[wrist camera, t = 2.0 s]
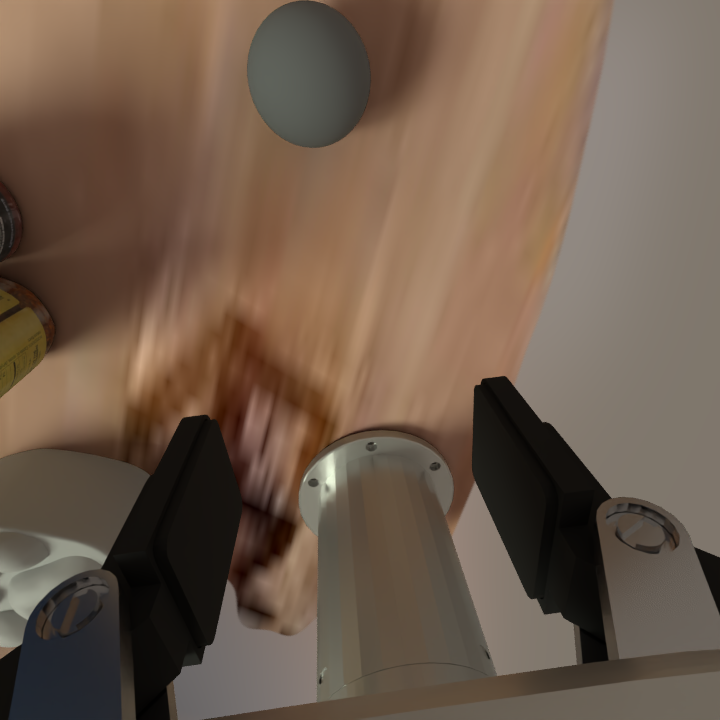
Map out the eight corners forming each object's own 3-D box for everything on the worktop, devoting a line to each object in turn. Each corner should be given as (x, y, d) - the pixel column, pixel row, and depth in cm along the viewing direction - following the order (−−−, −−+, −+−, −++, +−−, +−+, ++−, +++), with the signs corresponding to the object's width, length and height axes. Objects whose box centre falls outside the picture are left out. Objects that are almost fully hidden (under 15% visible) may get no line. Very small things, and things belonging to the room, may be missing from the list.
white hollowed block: (151, 556, 37) (106, 665, 29) (-18, 534, 34) (-116, 648, 27) (163, 465, 33) (114, 565, 25) (-30, 433, 30) (-152, 534, 22)
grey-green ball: (369, 141, 23) (382, 141, 18) (268, 152, 23) (253, 155, 18) (359, 13, 21) (370, -27, 16) (245, 25, 21) (221, -12, 16)
